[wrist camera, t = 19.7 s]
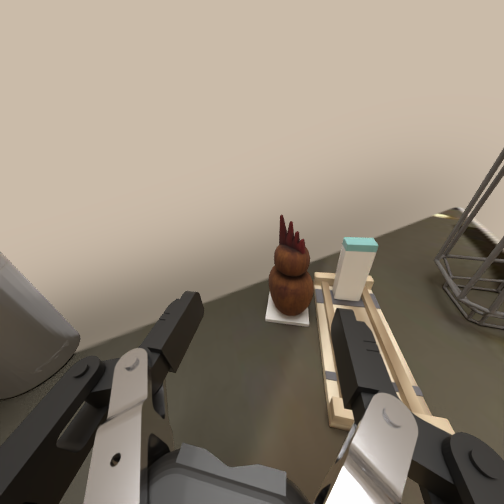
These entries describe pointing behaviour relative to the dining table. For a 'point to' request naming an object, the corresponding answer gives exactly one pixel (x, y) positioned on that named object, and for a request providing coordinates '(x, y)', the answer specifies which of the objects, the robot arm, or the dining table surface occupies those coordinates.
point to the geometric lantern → (487, 261)
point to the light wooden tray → (387, 345)
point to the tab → (353, 267)
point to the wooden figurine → (290, 273)
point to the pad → (285, 316)
